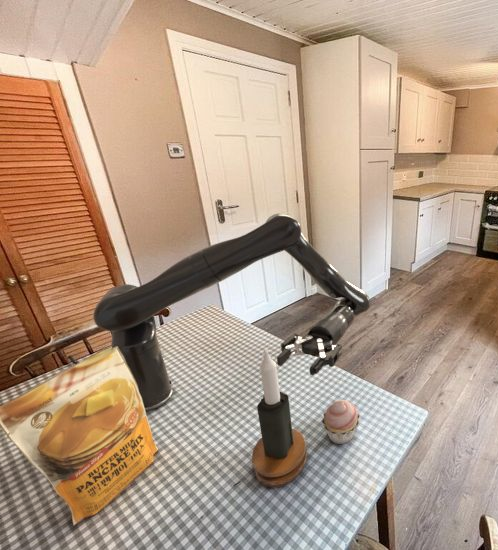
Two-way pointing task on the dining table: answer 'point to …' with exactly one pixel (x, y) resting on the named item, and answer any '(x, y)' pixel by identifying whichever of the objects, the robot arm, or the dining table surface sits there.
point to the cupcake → (341, 421)
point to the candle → (274, 413)
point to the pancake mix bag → (84, 431)
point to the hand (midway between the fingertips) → (294, 367)
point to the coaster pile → (280, 463)
